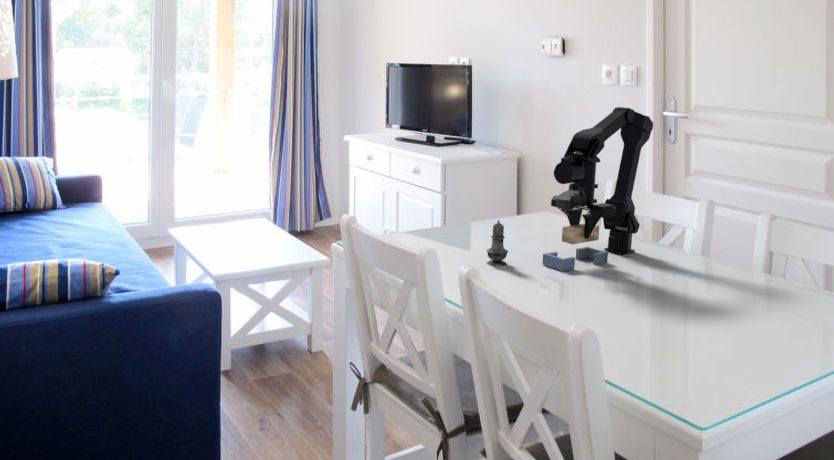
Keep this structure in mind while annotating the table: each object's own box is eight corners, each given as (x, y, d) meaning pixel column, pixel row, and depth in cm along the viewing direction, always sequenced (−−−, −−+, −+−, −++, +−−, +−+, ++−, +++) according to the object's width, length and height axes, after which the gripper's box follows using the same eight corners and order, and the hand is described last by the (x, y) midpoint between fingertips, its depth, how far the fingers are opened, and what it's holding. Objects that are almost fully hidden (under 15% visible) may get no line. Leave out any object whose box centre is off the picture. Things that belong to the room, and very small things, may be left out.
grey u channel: (586, 257, 248) (587, 246, 248) (607, 262, 243) (607, 252, 242) (575, 259, 246) (576, 248, 245) (595, 265, 240) (596, 254, 239)
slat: (587, 237, 244) (588, 222, 243) (598, 239, 241) (599, 225, 240) (561, 241, 239) (562, 226, 238) (572, 244, 235) (573, 229, 235)
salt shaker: (506, 267, 236) (508, 223, 233) (484, 265, 237) (486, 221, 234) (508, 261, 241) (510, 218, 239) (487, 260, 242) (489, 217, 240)
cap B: (554, 262, 241) (555, 251, 240) (574, 268, 235) (575, 257, 234) (542, 264, 238) (543, 253, 238) (562, 270, 233) (563, 259, 232)
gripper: (537, 177, 239) (534, 233, 242) (589, 188, 224) (585, 247, 228) (567, 174, 245) (563, 229, 249) (618, 184, 231) (614, 242, 234)
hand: (580, 237), depth 240 cm, fingers closed on slat, 4 cm apart
